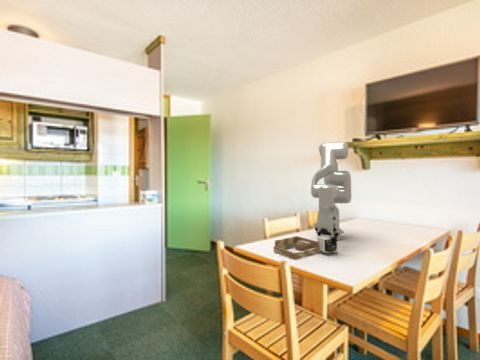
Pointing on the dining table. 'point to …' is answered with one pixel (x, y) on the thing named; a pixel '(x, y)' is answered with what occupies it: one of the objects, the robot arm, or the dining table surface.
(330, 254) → the mat
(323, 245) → the medicine bottle
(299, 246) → the offcut stack
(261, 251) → the dining table surface
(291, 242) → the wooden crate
